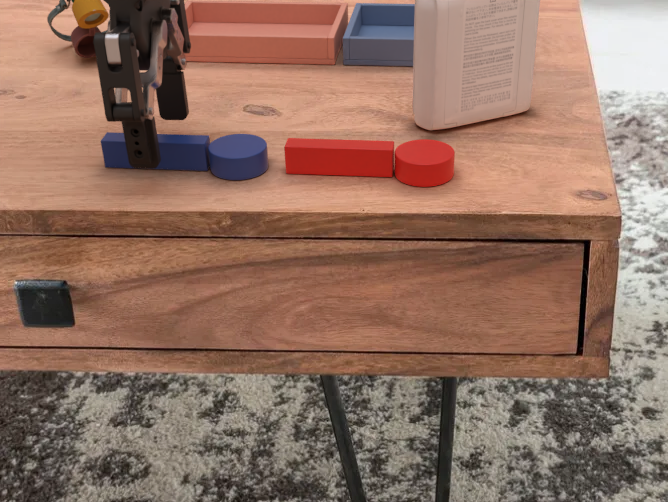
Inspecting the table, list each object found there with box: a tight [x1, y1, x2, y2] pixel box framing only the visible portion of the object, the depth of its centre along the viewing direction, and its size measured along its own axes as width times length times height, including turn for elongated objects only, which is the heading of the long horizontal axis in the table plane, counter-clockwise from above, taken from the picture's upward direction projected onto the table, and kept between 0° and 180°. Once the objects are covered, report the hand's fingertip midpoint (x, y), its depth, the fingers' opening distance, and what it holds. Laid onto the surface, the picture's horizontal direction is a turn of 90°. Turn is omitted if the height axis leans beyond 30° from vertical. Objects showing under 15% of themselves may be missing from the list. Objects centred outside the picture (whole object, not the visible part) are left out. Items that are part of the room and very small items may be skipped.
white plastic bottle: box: [412, 0, 541, 131], centre depth 83 cm, size 10×4×12 cm, turn 116°
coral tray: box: [184, 0, 349, 66], centre depth 101 cm, size 16×10×2 cm, turn 83°
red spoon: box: [283, 137, 455, 188], centre depth 78 cm, size 12×4×2 cm, turn 83°
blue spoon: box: [100, 131, 269, 181], centre depth 79 cm, size 12×4×2 cm, turn 83°
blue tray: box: [342, 2, 415, 67], centre depth 99 cm, size 16×10×2 cm, turn 83°
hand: (161, 141), depth 79 cm, fingers open, 8 cm apart
